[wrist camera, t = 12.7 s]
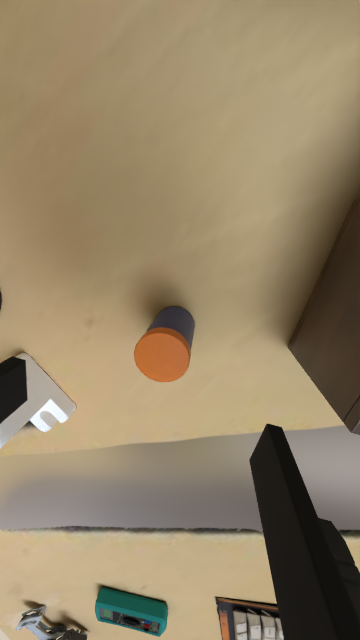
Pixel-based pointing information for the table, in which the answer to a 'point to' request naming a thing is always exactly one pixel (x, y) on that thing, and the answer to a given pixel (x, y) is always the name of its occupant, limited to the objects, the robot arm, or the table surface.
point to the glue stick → (166, 345)
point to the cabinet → (335, 326)
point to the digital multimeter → (131, 611)
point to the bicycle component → (48, 628)
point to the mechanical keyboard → (248, 620)
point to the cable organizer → (37, 403)
